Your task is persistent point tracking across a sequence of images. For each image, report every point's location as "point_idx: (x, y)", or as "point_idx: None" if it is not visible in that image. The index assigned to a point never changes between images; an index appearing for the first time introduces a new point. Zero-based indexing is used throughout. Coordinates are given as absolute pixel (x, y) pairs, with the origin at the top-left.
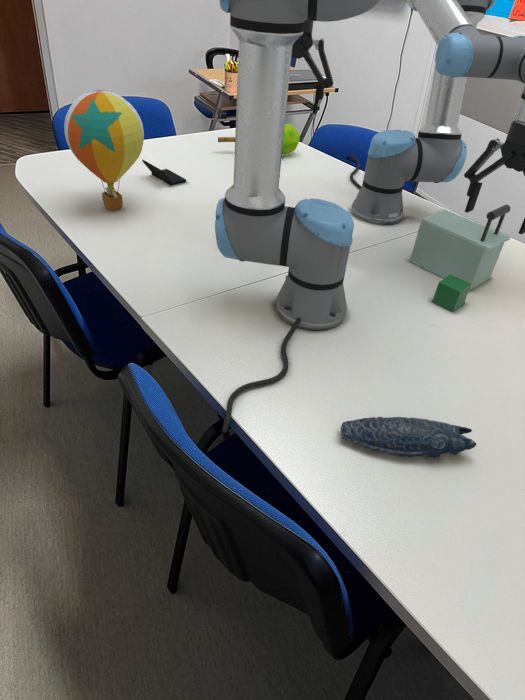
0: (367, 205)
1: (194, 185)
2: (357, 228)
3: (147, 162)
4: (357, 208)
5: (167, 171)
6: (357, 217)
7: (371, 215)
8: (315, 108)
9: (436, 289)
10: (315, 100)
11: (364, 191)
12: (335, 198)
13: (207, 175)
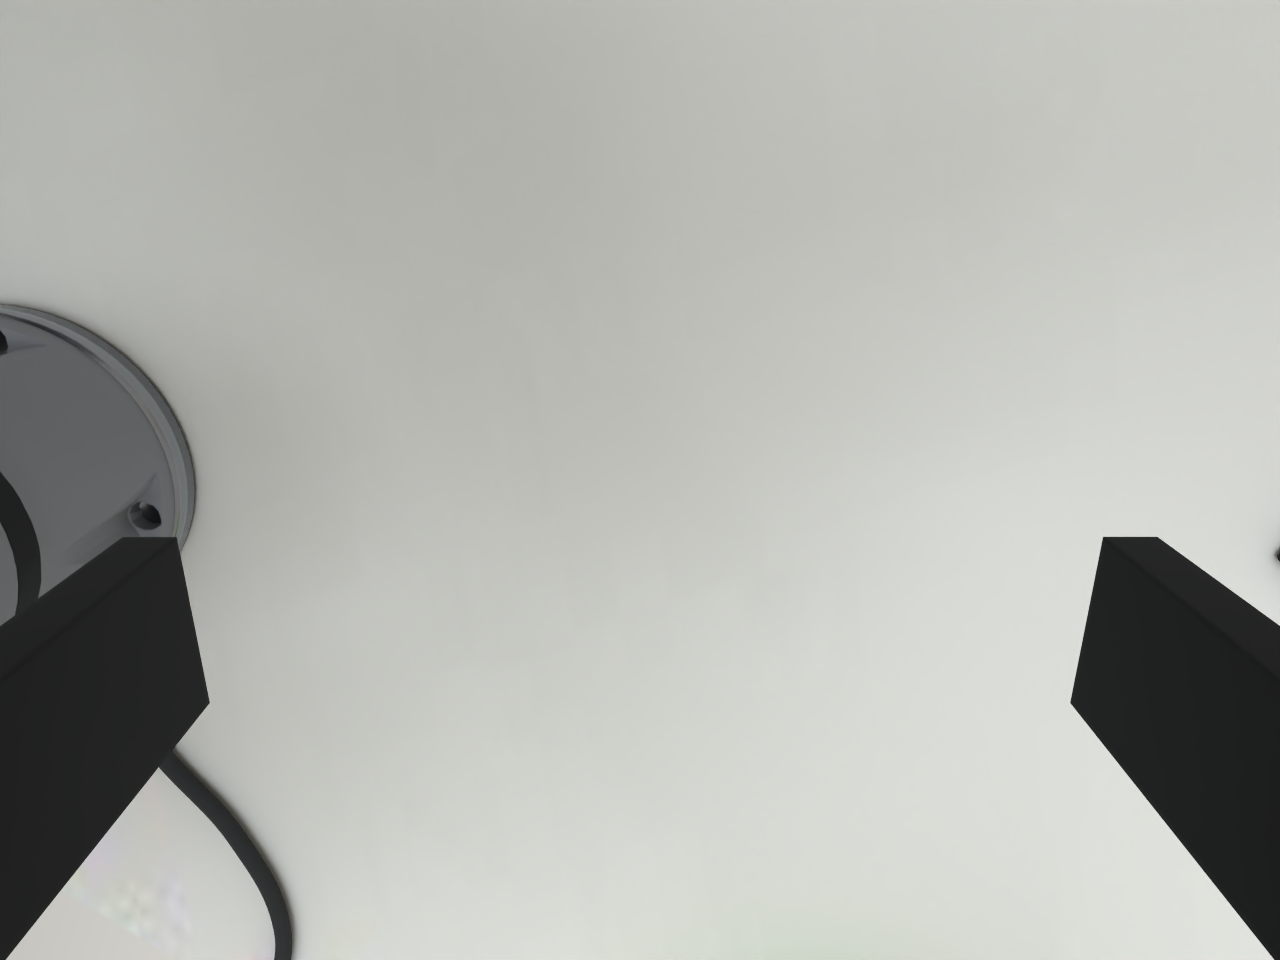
0: (14, 368)
1: (1216, 535)
2: (98, 207)
3: None
4: (112, 394)
5: None
6: (127, 361)
7: (3, 321)
8: (86, 575)
9: None
10: (7, 659)
11: (18, 455)
12: (322, 617)
13: None
